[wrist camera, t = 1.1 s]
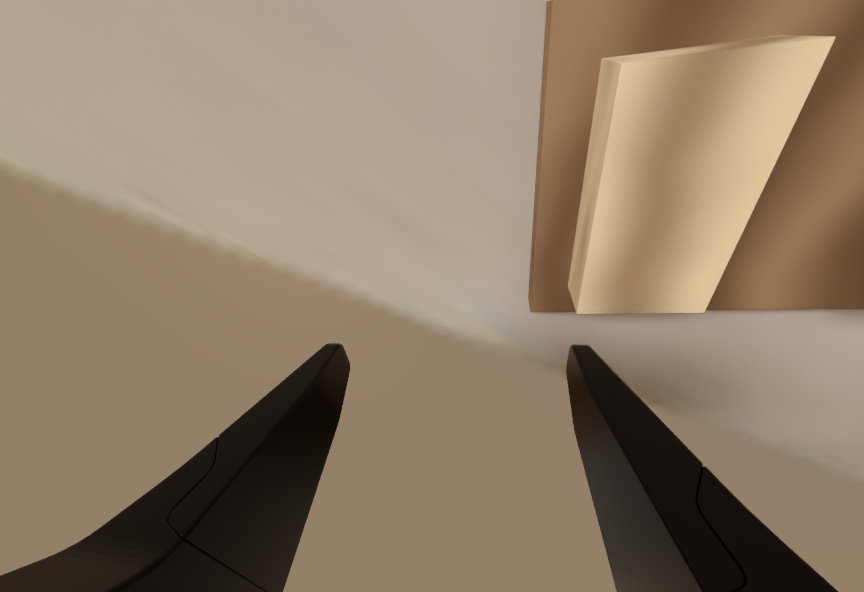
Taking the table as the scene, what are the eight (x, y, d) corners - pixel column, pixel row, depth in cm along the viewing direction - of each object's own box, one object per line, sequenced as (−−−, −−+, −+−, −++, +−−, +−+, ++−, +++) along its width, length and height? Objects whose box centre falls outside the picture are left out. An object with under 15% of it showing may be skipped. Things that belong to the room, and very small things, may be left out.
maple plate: (780, 34, 12) (836, 36, 10) (681, 283, 19) (704, 312, 17) (601, 58, 13) (621, 63, 11) (567, 285, 20) (576, 313, 18)
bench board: (1249, -112, 10) (1729, -200, 6) (895, 290, 19) (999, 358, 15) (546, 2, 14) (571, -9, 10) (528, 297, 23) (536, 353, 19)
